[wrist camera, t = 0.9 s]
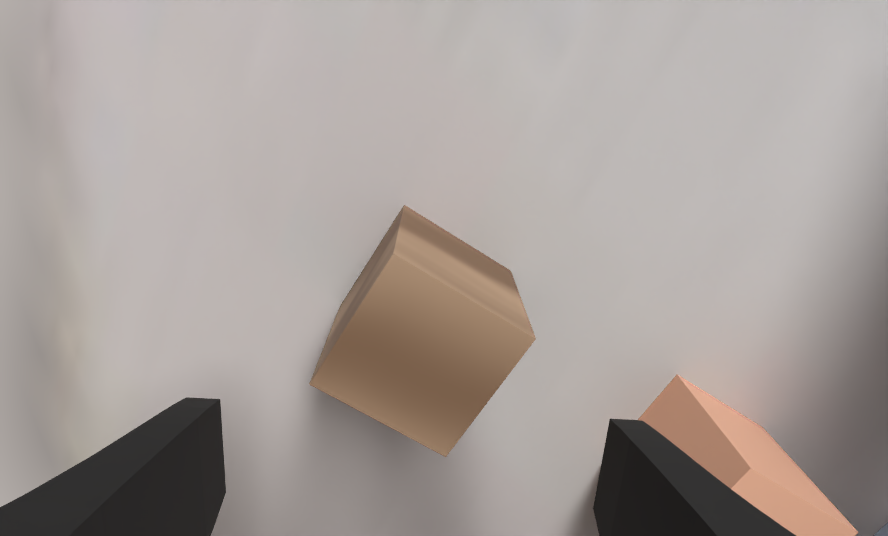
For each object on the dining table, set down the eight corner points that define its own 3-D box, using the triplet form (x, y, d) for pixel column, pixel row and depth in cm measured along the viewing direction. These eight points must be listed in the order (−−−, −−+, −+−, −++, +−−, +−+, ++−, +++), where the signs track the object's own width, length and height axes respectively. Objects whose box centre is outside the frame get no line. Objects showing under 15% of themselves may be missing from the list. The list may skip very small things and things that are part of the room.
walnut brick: (404, 204, 18) (393, 253, 13) (510, 270, 19) (535, 338, 14) (340, 305, 19) (309, 384, 14) (443, 364, 20) (445, 456, 15)
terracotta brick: (676, 373, 20) (750, 468, 15) (762, 426, 21) (858, 532, 16) (605, 456, 21) (654, 568, 16) (689, 504, 22) (759, 624, 17)
